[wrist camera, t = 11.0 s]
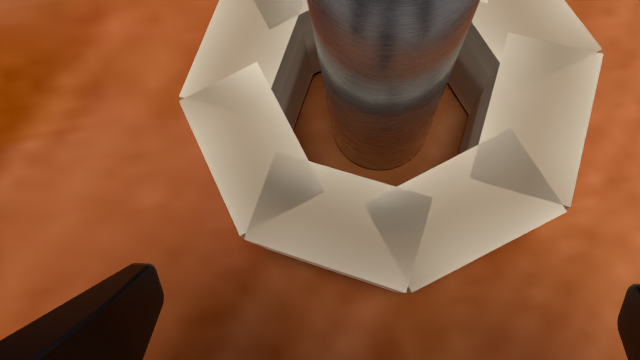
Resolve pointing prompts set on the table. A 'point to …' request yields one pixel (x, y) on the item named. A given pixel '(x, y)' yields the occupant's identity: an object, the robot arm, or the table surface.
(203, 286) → the table surface
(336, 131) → the bottle
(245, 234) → the cream octagonal ring
